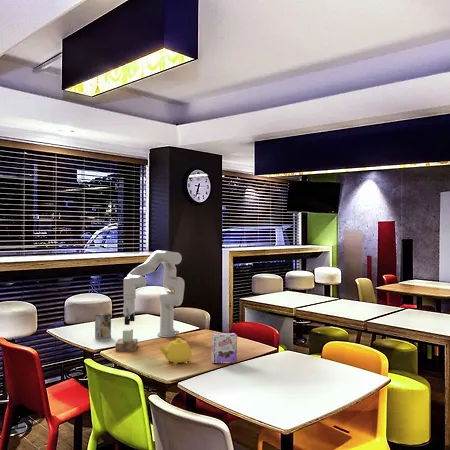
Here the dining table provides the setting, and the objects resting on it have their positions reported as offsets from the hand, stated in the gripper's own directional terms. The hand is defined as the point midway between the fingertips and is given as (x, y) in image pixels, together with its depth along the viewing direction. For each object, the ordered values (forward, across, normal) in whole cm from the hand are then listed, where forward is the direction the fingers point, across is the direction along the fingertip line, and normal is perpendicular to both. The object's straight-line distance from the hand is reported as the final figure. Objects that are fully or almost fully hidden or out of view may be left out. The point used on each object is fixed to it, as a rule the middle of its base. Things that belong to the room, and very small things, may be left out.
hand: (129, 322), depth 292 cm
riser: (+16, +2, -1) cm, 16 cm away
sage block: (+11, +1, -1) cm, 11 cm away
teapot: (+16, +26, +36) cm, 47 cm away
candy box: (+16, +20, +64) cm, 69 cm away
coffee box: (+16, -22, -26) cm, 38 cm away
